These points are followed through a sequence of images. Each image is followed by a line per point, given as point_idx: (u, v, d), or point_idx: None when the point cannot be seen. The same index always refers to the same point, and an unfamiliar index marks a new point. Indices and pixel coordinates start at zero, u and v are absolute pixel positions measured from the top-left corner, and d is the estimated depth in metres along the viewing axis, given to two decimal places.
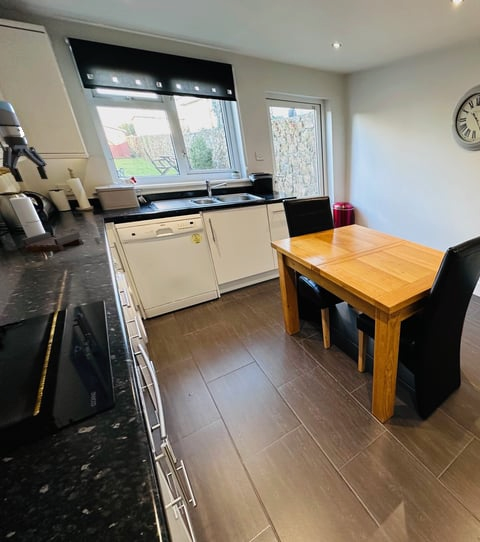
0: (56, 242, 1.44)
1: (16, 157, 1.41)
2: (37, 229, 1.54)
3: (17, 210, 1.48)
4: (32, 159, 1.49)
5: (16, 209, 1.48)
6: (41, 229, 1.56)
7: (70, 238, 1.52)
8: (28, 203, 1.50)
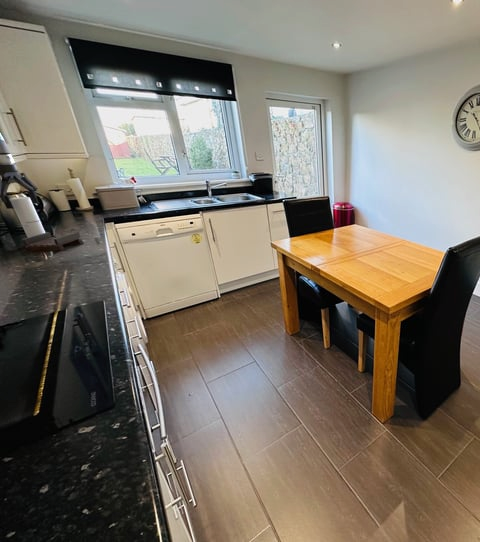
0: (56, 242, 1.44)
1: (6, 184, 1.42)
2: (37, 229, 1.54)
3: (17, 210, 1.48)
4: (23, 185, 1.50)
5: (16, 209, 1.48)
6: (41, 229, 1.56)
7: (70, 238, 1.52)
8: (28, 203, 1.50)
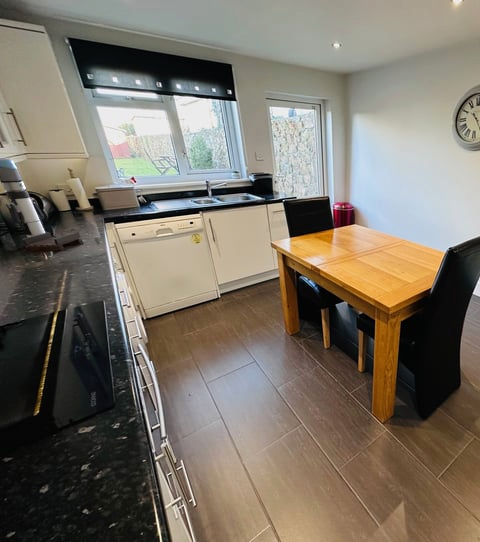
0: (56, 242, 1.44)
1: None
2: (37, 229, 1.54)
3: (17, 210, 1.48)
4: None
5: (16, 209, 1.48)
6: (41, 229, 1.56)
7: (70, 238, 1.52)
8: (28, 203, 1.50)
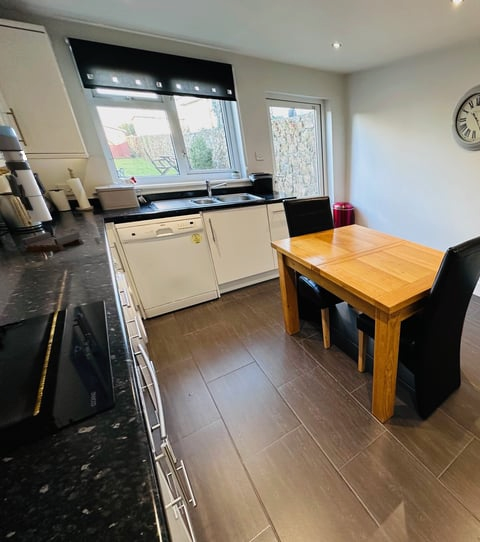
0: (56, 242, 1.44)
1: None
2: (39, 204, 1.43)
3: (17, 182, 1.36)
4: None
5: (16, 181, 1.36)
6: (43, 205, 1.45)
7: (70, 238, 1.52)
8: (29, 175, 1.38)
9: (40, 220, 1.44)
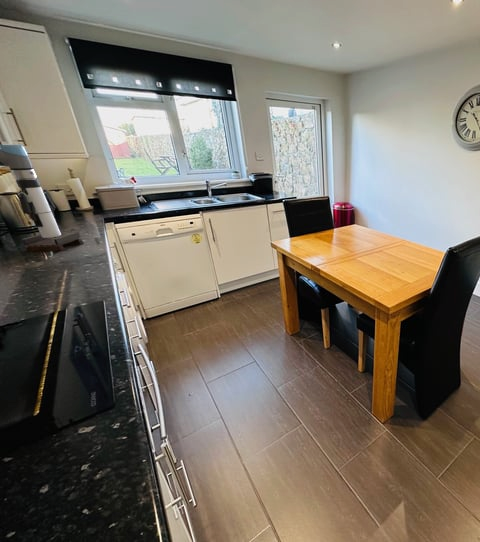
0: (56, 242, 1.44)
1: None
2: (49, 220, 1.45)
3: (28, 200, 1.38)
4: None
5: (27, 199, 1.38)
6: (53, 221, 1.47)
7: (70, 238, 1.52)
8: (39, 193, 1.40)
9: (50, 236, 1.46)
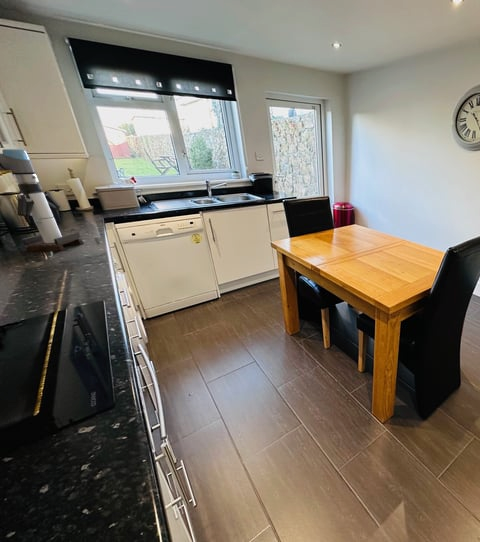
0: (56, 242, 1.44)
1: (31, 204, 1.38)
2: (51, 226, 1.46)
3: None
4: None
5: None
6: (55, 226, 1.48)
7: (70, 238, 1.52)
8: (42, 198, 1.41)
9: (52, 241, 1.48)
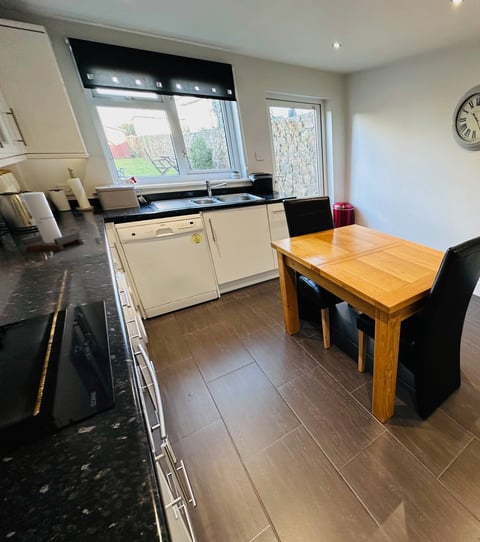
0: (56, 242, 1.44)
1: None
2: (51, 226, 1.46)
3: (30, 206, 1.39)
4: None
5: (29, 205, 1.39)
6: (55, 226, 1.48)
7: (70, 238, 1.52)
8: (42, 198, 1.41)
9: (52, 241, 1.48)
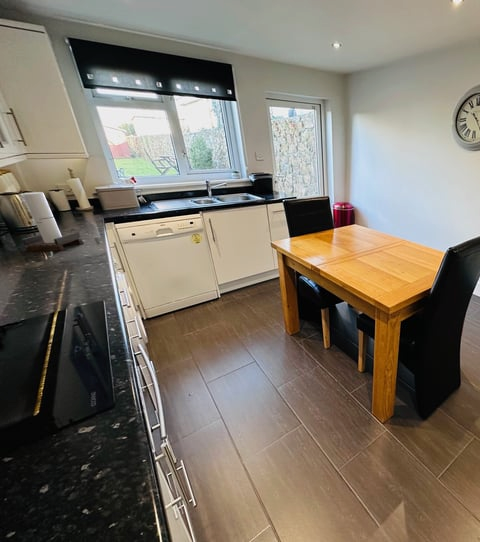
0: (56, 242, 1.44)
1: None
2: (51, 226, 1.46)
3: (30, 206, 1.39)
4: None
5: (29, 205, 1.39)
6: (55, 226, 1.48)
7: (70, 238, 1.52)
8: (42, 198, 1.41)
9: (52, 241, 1.48)
